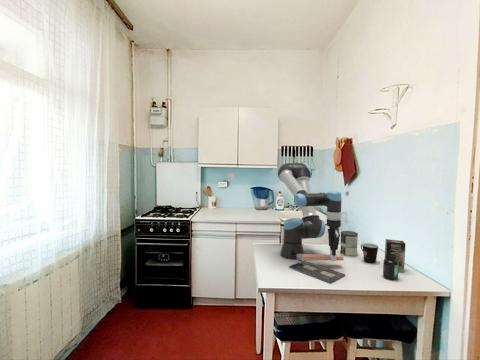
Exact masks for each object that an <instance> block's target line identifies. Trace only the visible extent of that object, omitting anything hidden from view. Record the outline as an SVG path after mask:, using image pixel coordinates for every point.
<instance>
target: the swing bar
mask: <svg viewBox="0 0 480 360" xmlns="http://www.w3.org/2000/svg"><path fill="white" fill-rule="evenodd" d="M344 258H345V257H344V255H342V254H341V253H339V254H338V253H336V261H335V262H338V261H342V262H343V261H345V259H344ZM297 260H302V261H330V253H329V254H328V253H327V254H326V253H325V254H324V253H305V254H297V259H296V261H297Z"/></svg>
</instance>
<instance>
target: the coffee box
mask: <svg viewBox="0 0 480 360" xmlns="http://www.w3.org/2000/svg"><path fill="white" fill-rule="evenodd" d="M386 254H395V255H396V256H397V261H398V263H399V269H398V273H403V274H404V273H405V262H406V261H405V260H406V258H405V257H406V242H404V240H399V239H397V240H396V239H387V238H385V244H384V259H386Z"/></svg>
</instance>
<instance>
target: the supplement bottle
mask: <svg viewBox="0 0 480 360" xmlns="http://www.w3.org/2000/svg"><path fill="white" fill-rule="evenodd" d="M382 264H383V265H382V276H383V278H384V279H386V280H389V281H397V280H398V279H399V272H398V269H399V263H398V261H397V256H396V255H395V254H386V259H385V258H384V260H383V263H382Z"/></svg>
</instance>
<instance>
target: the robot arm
mask: <svg viewBox="0 0 480 360" xmlns="http://www.w3.org/2000/svg"><path fill="white" fill-rule="evenodd" d="M277 178H278V179H279V181H281V182H282V183H283V184H284V185H285V186H286V187H287V189H288V190H289V191H290V193H291V194H292V196H293V203H294V206H296V207H300V209H301V214H302V217H301V218H299V217H292V218H287V219H285V220H284V222H283V227H282V228H283V243H282V245H281V249H280V256H281V255H282V256H284V257H286V258H285V259H288V258H290V259H289V260H297V254H306V253H305V250H304V246H303V239H305V240H306V239H319V238H322V237H323V236H325V235H324V234H325V233H326V226H327V227H329V228H327V233H328V246H329V251H330V252H329V254H330V260H329V261H330V262H337V261H336V254H337V250H339V242H340V238H341V233H339V230H338V228H341V225H342V220H341V219H342V215H343V213H342V202H343V201H342V200H343V199H342V198H343V197H342V192H341V191H337V190H328V191H327V192H314V193H312V191H311V187H310V183H309V182H310V180H311V178H312V168H311V166H310V165H309V163H304V162H300V163H299V162H286V163H284V164H281V166H279V168H278V170H277ZM315 207H326V224H325V221H324V220H323V219H320V216H319V214H317V211H316V209H315ZM282 256H281V257H282ZM284 257H283V258H284Z"/></svg>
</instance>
